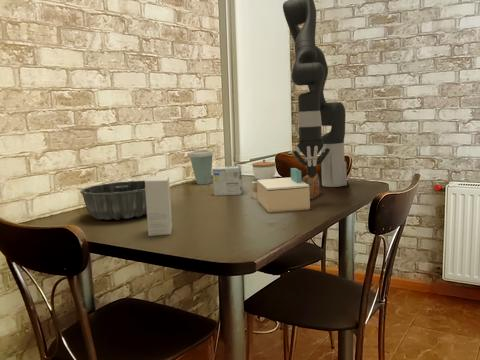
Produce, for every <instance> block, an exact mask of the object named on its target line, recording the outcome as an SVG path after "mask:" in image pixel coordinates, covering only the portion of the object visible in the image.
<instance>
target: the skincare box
mask: <svg viewBox="0 0 480 360" xmlns="http://www.w3.org/2000/svg"><path fill="white" fill-rule="evenodd" d="M144 181H145V192H146V207H147V215H146V219H147V233H148V236H149V237H150V236H151V237H153V236H167V235H169V236H170V235H171V234H172V230H173V222H172V220H173V219H172V206H171V205H172V204H171V202H172V201H171V190H170V189H171V188H170V187H171V186H170V176H169V175H168V174H165V175H150V176H149V175H148V176H147V177H146V178H145V180H144Z"/></svg>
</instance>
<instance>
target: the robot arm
mask: <svg viewBox="0 0 480 360" xmlns="http://www.w3.org/2000/svg"><path fill="white" fill-rule="evenodd" d="M282 11H283V15H284V19H285V21H286V23H287V26H288V28H289V32H290V34H291V37H292V39H293V42H294V53H295V54H294V55H295V57H294V58H295V60H294V64H293V67H292V70H291V80H292V83H293V84H294V85H295V86H299V87H300V86H301V87H302V86H303V87H304V86H307V88H308V90H309V91H307V92H303V93H300V94H299V95H298V97H297V103H298V105H297V106H298V107H297V108H298V117H297V124H298V125H297V126H298V130H297V131H298V142H297V147H295V149H294V150H292V151H291V154H292V155H293V156H294V158H295V159H297V161H298V162H299V163H300V164H301V165H303V166H305V167H306V176H309V178H314V177H315V176H316V173H317V166H318V165H320V166H321V167H320V168H321V185H322V187H327V188H335V187H337V188H338V187H339V188H340V187H343V186H348V178H347V176H348V174H347V161H346V160H345V137H346V108H345V105H344V104H343V103H342V102H339V101H335V102H333V101H332V102H331V101H330V102H327V101H326V98H325V95H324V88H325V85H326V82H327V78H328V74H329V67H328V64H327V63H328V62H327V60H326V57H325V54H324V52H323V50H322V49H321V48H319V47H318V46H317V45H316V31H317V30H316V29H317V8H316V4H315V1H314V0H286V1H284V2H283V4H282ZM302 24H303V25H302ZM299 25H302V27H301V29H300V27H299ZM322 126H323V127H331V128H330V131H329V132H327V133H326V134H324V135H323V134H322ZM300 154H303V156H304V159H303V157H302V156H301V155H300ZM318 155H319V156H318Z"/></svg>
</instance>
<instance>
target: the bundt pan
mask: <svg viewBox="0 0 480 360" xmlns="http://www.w3.org/2000/svg"><path fill="white" fill-rule="evenodd" d="M79 193H80V194H82V197H83V201H84V205H85V208H86V211H87V213H89V215H90V216H92V217H93V218H94V219H96V220H102V219H104V220H106V221H109V220H116V221H120V219H126V220H127V219H128V220H129V219H133V218H136V219H137V218H141V216H147V207H146V192H145V180H129V181H116V182H110V183H102V184H97V185H91V186H88V187H85V188H82V189H81V190H80V192H79ZM102 221H103V220H102Z"/></svg>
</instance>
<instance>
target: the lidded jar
mask: <svg viewBox="0 0 480 360" xmlns="http://www.w3.org/2000/svg"><path fill="white" fill-rule="evenodd" d="M251 165H252V171H253V173H252V174H253V175H254V177H255V178H256V180H262V179H274V177H275V175H276V171H277V170H276V168H277V167H276V166H277V163H276V162H275V161H266V159H262V161H259V162H253V163H252V164H251Z"/></svg>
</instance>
